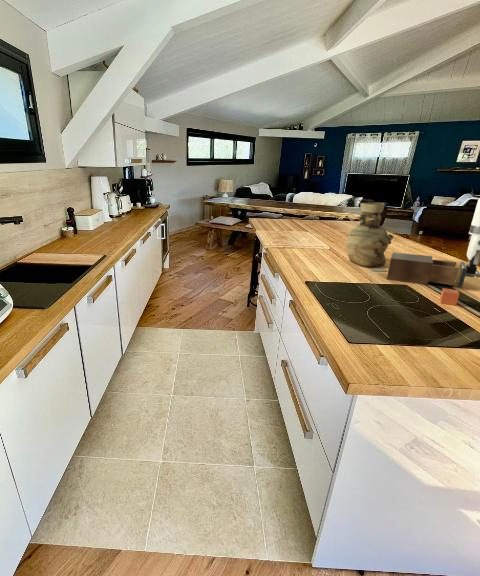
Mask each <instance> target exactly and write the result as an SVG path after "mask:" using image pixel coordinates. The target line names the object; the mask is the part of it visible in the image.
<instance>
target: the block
mask: <svg viewBox="0 0 480 576" xmlns="http://www.w3.org/2000/svg"><path fill="white" fill-rule="evenodd" d="M459 297H460V292H459V290H458V289H452V288H444V287H443V288H442V289H441V294H440V298H439V303H440V304H445V305H449V306H456V307H457V303H458V300H459Z"/></svg>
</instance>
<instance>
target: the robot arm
mask: <svg viewBox="0 0 480 576" xmlns="http://www.w3.org/2000/svg"><path fill="white" fill-rule="evenodd" d="M468 235H471V236H470V240H469V243H468V246H467V251H466V257H467V261H466V262H467V263H466V267H467V272H466V273H467V274H475V273H476V270H478V266H479V263H480V198H479V199H478V200H477V203H476V206H475V210H474V213H473V217H472V220H471V224H470V227H469V231H468ZM465 277H467V278H475V276H469V275H465Z"/></svg>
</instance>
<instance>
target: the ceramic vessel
mask: <svg viewBox="0 0 480 576" xmlns="http://www.w3.org/2000/svg"><path fill="white" fill-rule="evenodd" d="M384 208H385V203H384V202H360V212H361V213H360V217H359V225H356V226H355V227H353V228H352V229H351V230H350V231H349V233H348V236H347V239H346V253H347V258H348V259H349V261H350V262H351V263H352V264H355V265H358V266H360V267H364V268H374V267H381V266H382V267H383V266H384V265H385V264H386V263H387V259H386V255H385V252H386V250H388V247H389V245H391V244H392V240H393V239H394V235H392V234H388V232H387V230H386V229H385V228H384V227H382V226H381V222H382V213H383V212H384Z"/></svg>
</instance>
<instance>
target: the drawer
mask: <svg viewBox="0 0 480 576" xmlns="http://www.w3.org/2000/svg"><path fill="white" fill-rule="evenodd" d="M432 260H433V265H432V269H431V273H430V277H429V281H428V283H434V284H441V285H442V284H443V285H450V286H455V283H456V286H457V288H461V289H462V288H463V285H464V281H465V278H466V276H465V275H469V276H474V277H476V278H477V279H479V278H480V271H479V270H478V269H477V270H476V273H475V274H467V273H466V272H467V267H466V266H467V264H466V262H465V261H460V262H459V266H458V267H457V261H450V260H441V259H433V258H432Z"/></svg>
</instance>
